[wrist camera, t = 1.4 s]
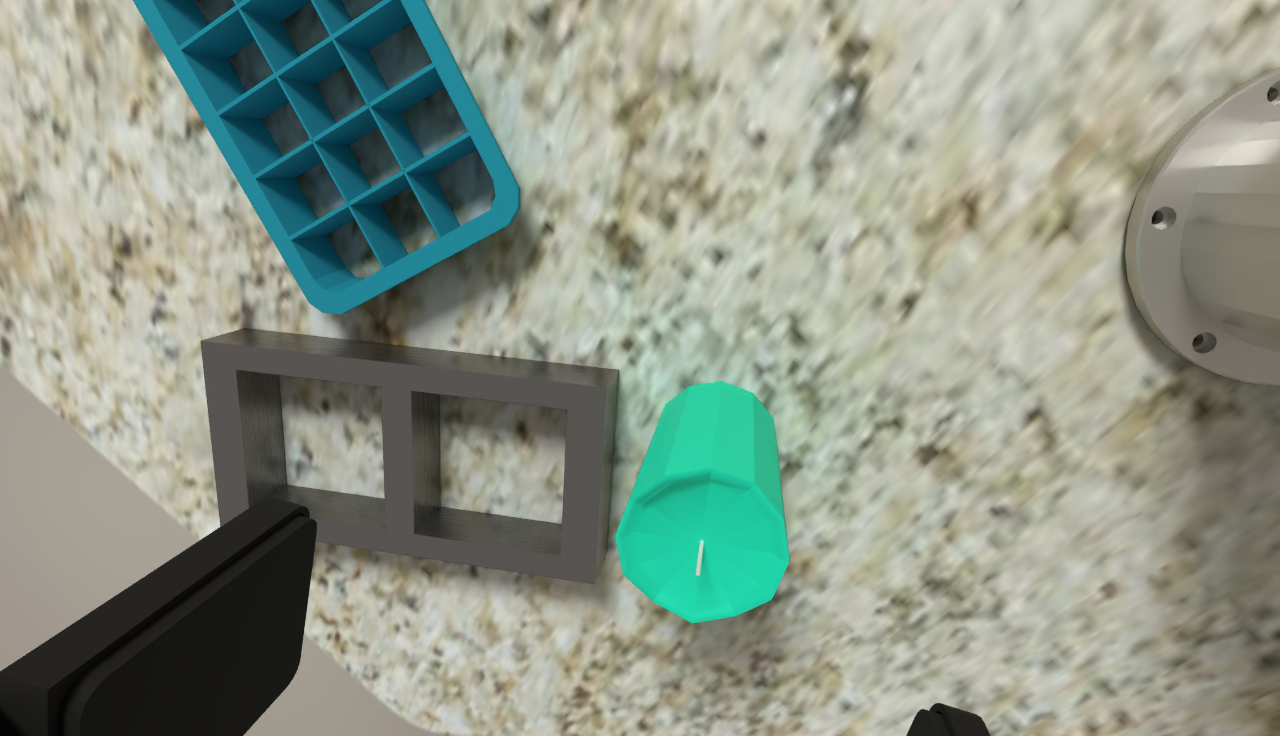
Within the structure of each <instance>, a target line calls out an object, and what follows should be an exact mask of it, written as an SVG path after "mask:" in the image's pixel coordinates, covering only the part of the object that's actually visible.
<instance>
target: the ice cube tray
mask: <svg viewBox="0 0 1280 736" xmlns="http://www.w3.org/2000/svg"><path fill="white" fill-rule="evenodd" d="M233 1H234V3H235V6H234V7H233V8H231V9H230V10H228V11H227V12H226V13H224V14H223V15H221V16H220V17H219V18H217V19H216V20H214V21H213V22H212V23H210V24H209V25H208V24H207V22H206V20H205V18H204V16H203V15H202V13H201V11H200V9H199V8H198V6H197V4H196V2H195V1H194V0H133V2H134V3H135V5H136V7H137V8H138V10H139V12H140V14H141V15H142V17H143V19H144V20H145V22H146V24H147V26H148V27H149V29H150V31H151V32H152V34H153V36H154V38H155V39H156V41H157V43H158V44H159V46H160V48H161V50H162V51H163V53H164V55H165V56H166V58H167V60H168V62H169V63H170V65H171V67H172V68H173V70H174V72H175V74H176V75H177V77H178V79H179V80H180V82H181V84H182V86H183V87H184V89H185V91H186V92H187V94H188V96H189V98H190V99H191V101H192V103H193V104H194V106H195V108H196V110H197V111H198V113H199V115H200V116H201V118H202V120H203V122H204V123H205V125H206V127H207V128H208V130H209V132H210V134H211V135H212V137H213V139H214V140H215V142H216V144H217V146H218V147H219V149H220V151H221V153H222V154H223V156H224V158H225V159H226V161H227V163H228V165H229V166H230V168H231V170H232V171H233V173H234V175H235V177H236V178H237V180H238V182H239V183H240V185H241V187H242V189H243V190H244V192H245V194H246V195H247V197H248V199H249V201H250V202H251V204H252V206H253V207H254V209H255V211H256V213H257V214H258V216H259V218H260V219H261V221H262V223H263V225H264V226H265V228H266V230H267V231H268V233H269V235H270V237H271V238H272V240H273V242H274V243H275V245H276V247H277V249H278V250H279V252H280V254H281V255H282V257H283V259H284V261H285V262H286V264H287V266H288V267H289V269H290V271H291V273H292V274H293V276H294V278H295V279H296V281H297V283H298V285H299V286H300V288H301V290H302V291H303V293H304V295H305V297H306V298H307V300H308V302H309V303H310V304H311V305H313V306H314V307H316V308H317V309H319V310H320V311H321V312H323V313H331V314H340V315H341V314H344V313H346V312H348V311H350V310H352V309H353V308H355V307H357V306H359V305H361V304H363V303H365V302H367V301H368V300H370V299H372V298H374V297H376V296H378V295H380V294H381V293H383V292H385V291H387V290H389V289H391V288H393V287H395V286H396V285H398V284H400V283H402V282H404V281H406V280H408V279H410V278H411V277H413V276H415V275H417V274H419V273H421V272H423V271H424V270H426V269H428V268H430V267H432V266H434V265H436V264H438V263H439V262H441V261H443V260H445V259H447V258H449V257H451V256H453V255H454V254H456V253H458V252H460V251H462V250H464V249H466V248H467V247H469V246H471V245H473V244H475V243H477V242H479V241H481V240H482V239H484V238H486V237H488V236H490V235H492V234H494V233H495V232H497V231H499V230H501V229H503V228H505V227H507V226H509V225H510V224H511V223H512V221H513V219H514V217H515V216H516V214H517V212H518V210H519V209H520V187H519V185H518V183H517V181H516V179H515V177H514V175H513V173H512V171H511V169H510V167H509V165H508V163H507V161H506V159H505V157H504V155H503V153H502V151H501V149H500V147H499V145H498V143H497V142H496V140H495V138H494V136H493V134H492V132H491V130H490V128H489V126H488V124H487V122H486V120H485V118H484V116H483V114H482V112H481V110H480V108H479V106H478V104H477V102H476V100H475V98H474V96H473V94H472V92H471V90H470V88H469V86H468V85H467V83H466V81H465V79H464V77H463V75H462V73H461V71H460V69H459V67H458V65H457V63H456V61H455V59H454V57H453V55H452V53H451V51H450V49H449V47H448V45H447V43H446V41H445V39H444V37H443V35H442V33H441V31H440V29H439V27H438V26H437V24H436V22H435V20H434V18H433V16H432V14H431V12H430V10H429V8H428V6H427V4H426V2H425V0H383V1H381V2H380V3H378V4H377V5H375V6H374V7H372V8H371V9H369V10H368V11H366V12H365V13H363V14H362V15H360V16H359V17H357V18H356V19H354V20H353V21H352V20H351V18H350V16H349V14H348V12H347V10H346V8H345V7H344V5H343V3H342V1H341V0H233ZM310 2H312V4H313V6H314V7H315V9H316V11H317V13H318V15H319V17H320V19H321V20H322V22H323V24H324V26H325V28H326V30H327V32H328V33H329V35H330V36H329V37H328V38H326V39H325V40H323V41H322V42H320V43H319V44H317V45H316V46H314V47H313V48H311V49H310V50H308V51H307V52H305V53H304V54H302V55H301V56H299V54H298V52H297V50H296V49H295V47H294V45H293V43H292V41H291V39H290V38H289V36H288V34H287V32H286V30H285V29H284V27H283V25H282V23H281V22H282V21H284V20H285V19H287V18H288V17H290V16H291V15H293V14H294V13H295V12H297V11H298V10H300V9H301V8H303V7H304V6H306V5H307V4H308V3H310ZM411 22H412V24H413V26H414V28H415V29H416V31H417V33H418V35H419V37H420V39H421V41H422V43H423V45H424V47H425V49H426V51H427V53H428V55H429V57H430V59H431V61H432V62H433V63H432V64H430V65H428V66H427V67H425V68H424V69H422V70H420V71H419V72H417V73H416V74H414V75H412V76H411V77H409V78H408V79H406V80H405V81H403V82H401V83H400V84H398V85H397V86H395V87H393V88H392V89H390V90H388V88H387V86H386V84H385V82H384V80H383V78H382V76H381V75H380V73H379V71H378V69H377V67H376V65H375V63H374V61H373V59H372V58H371V56H370V54H369V52H368V50H370V49H371V48H373V47H374V46H376V45H377V44H379V43H380V42H382V41H383V40H385V39H387V38H388V37H390V36H391V35H393V34H394V33H396V32H397V31H399V30H400V29H402V28H403V27H405V26H406V25H408V24H410V23H411ZM254 41H256V43H257V44H258V46H259V48H260V50H261V52H262V53H263V55H264V57H265V59H266V60H267V62H268V64H269V66H270V68H271V69H272V71H273V73H274V74H272V75H271V76H269V77H268V78H266V79H265V80H263V81H262V82H260V83H259V84H257V85H256V86H254V87H253V88H251V89H250V90H248V91H247V92H246V91H245V89H244V87H243V85H242V84H241V82H240V80H239V78H238V76H237V75H236V73H235V71H234V69H233V68H232V66H231V64H230V62H229V61H228V59H229V58H230V57H232V56H233V55H235V54H236V53H238V52H239V51H241V50H242V49H243V48H245V47H246V46H248V45H249V44H251V43H252V42H254ZM345 65H346V67H347V69H348V71H349V73H350V74H351V76H352V78H353V80H354V82H355V84H356V86H357V87H358V89H359V91H360V93H361V95H362V97H363V99H364V100H365V102H366V105H365V106H363V107H361V108H360V109H358V110H357V111H355V112H353V113H352V114H350V115H349V116H347V117H345V118H344V119H342V120H341V121H339V122H337V123H336V122H335V120H334V118H333V116H332V114H331V112H330V111H329V109H328V107H327V105H326V103H325V102H324V100H323V98H322V96H321V94H320V92H319V91H318V89H317V87H316V84H317V83H319V82H321V81H322V80H324V79H325V78H327V77H328V76H330V75H331V74H333V73H334V72H336V71H337V70H339V69H340V68H342V67H344V66H345ZM443 87H445V88H446V90H447V92H448V94H449V96H450V97H451V99H452V101H453V103H454V105H455V107H456V109H457V111H458V113H459V115H460V117H461V119H462V121H463V123H464V125H465V127H466V129H467V130H468V132H466V133H465V134H463V135H461V136H460V137H458V138H456V139H454V140H453V141H451V142H449V143H448V144H446V145H444V146H442V147H441V148H439V149H437V150H436V151H434V152H432V153H431V154H429V155H427V156H425V157H424V156H423V154H422V152H421V150H420V148H419V146H418V144H417V143H416V141H415V139H414V137H413V135H412V133H411V131H410V129H409V127H408V126H407V124H406V122H405V120H404V118H403V116H402V114H401V113H402V112H404V111H405V110H407V109H409V108H410V107H412V106H414V105H415V104H417V103H418V102H420V101H422V100H423V99H425V98H427V97H428V96H430V95H432V94H433V93H435V92H436V91H438V90H440V89H441V88H443ZM288 102H290V104H291V105H292V107H293V109H294V111H295V113H296V114H297V116H298V118H299V120H300V121H301V123H302V125H303V127H304V129H305V130H306V132H307V134H308V136H309V138H310V140H309V141H307V142H306V143H304V144H302V145H301V146H299V147H298V148H296V149H294V150H293V151H291V152H290V153H288V154H286V155H285V156H282V154H281V152H280V151H279V149H278V147H277V145H276V144H275V142H274V140H273V138H272V136H271V135H270V133H269V131H268V129H267V128H266V126H265V124H264V122H263V121H262V119H264V118H265V117H267V116H268V115H270V114H271V113H273V112H274V111H276V110H278V109H279V108H281V107H282V106H284V105H285V104H287V103H288ZM378 127H379V128H380V130H381V132H382V134H383V136H384V138H385V139H386V141H387V143H388V145H389V147H390V149H391V151H392V152H393V154H394V156H395V158H396V160H397V162H398V164H399V166H400V167H401V169H402V171H400V172H398V173H396V174H395V175H393V176H391V177H390V178H388V179H386V180H384V181H383V182H381V183H379V184H378V185H376V186H374V187H373V188H372V187H371V185H370V184H369V182H368V180H367V178H366V176H365V175H364V173H363V171H362V169H361V167H360V165H359V164H358V162H357V160H356V158H355V156H354V154H353V153H352V151H351V149H350V147H349V145H350V144H352V143H353V142H355V141H356V140H358V139H360V138H361V137H363V136H365V135H366V134H368V133H370V132H371V131H373V130H374V129H376V128H378ZM475 149H477V150H478V152H479V154H480V156H481V158H482V160H483V162H484V163H485V165H486V167H487V169H488V171H489V173H490V175H491V177H492V179H493V183H494V190H495V199H494V201H493V204H492V207H491V209H490V211H488V212H486V213H484V214H482V215H480V216H479V217H477V218H475V219H473V220H471V221H469V222H468V223H466V224H464V225H462V226H460V224H459V222H458V220H457V218H456V216H455V214H454V212H453V210H452V209H451V207H450V205H449V203H448V201H447V199H446V197H445V195H444V193H443V192H442V190H441V188H440V186H439V184H438V182H437V180H436V178H435V176H434V175H433V174H434V173H435V172H437V171H439V170H441V169H442V168H444V167H446V166H447V165H449V164H451V163H453V162H454V161H456V160H458V159H460V158H461V157H463V156H465V155H467V154H468V153H470V152H472V151H473V150H475ZM322 161H323V163H324V165H325V166H326V168H327V170H328V172H329V174H330V175H331V177H332V179H333V181H334V182H335V184H336V186H337V188H338V190H339V191H340V193H341V195H342V197H343V199H344V200H345V202H346V203H345V204H344V205H342V206H340V207H338V208H337V209H335V210H333V211H332V212H330V213H328V214H326V215H325V216H323V217H321V218H320V219H318V218H317V216H316V214H315V212H314V211H313V209H312V207H311V205H310V203H309V202H308V200H307V198H306V196H305V195H304V193H303V191H302V189H301V188H300V186H299V184H298V182H297V181H296V179H295V178H296V177H298V176H299V175H301V174H303V173H304V172H306V171H308V170H309V169H311V168H312V167H314V166H316V165H317V164H319V163H321V162H322ZM409 187H411V188H412V190H413V192H414V193H415V195H416V197H417V199H418V201H419V203H420V205H421V206H422V208H423V210H424V212H425V214H426V216H427V218H428V219H429V221H430V223H431V225H432V227H433V229H434V231H435V232H436V234H437V236H438V239H436V240H435V241H433V242H431V243H429V244H427V245H425V246H424V247H422V248H420V249H418V250H416V251H414V252H413V253H411V254H409V255H408V253H407V251H406V249H405V248H404V246H403V244H402V242H401V240H400V238H399V237H398V235H397V233H396V231H395V229H394V227H393V226H392V224H391V222H390V220H389V218H388V216H387V215H386V213H385V211H384V209H383V207H382V206H381V204H382V203H383V202H385V201H387V200H389V199H390V198H392V197H394V196H395V195H397V194H399V193H401V192H402V191H404V190H406V189H408V188H409ZM354 219H355V220H356V222H357V224H358V226H359V227H360V229H361V231H362V233H363V235H364V236H365V238H366V240H367V242H368V243H369V245H370V247H371V249H372V251H373V252H374V254H375V256H376V258H377V260H378V261H379V263H380V265H381V267H382V269H381V270H380V271H378V272H376V273H374V274H372V275H370V276H369V277H367V278H365V279H362V278H358V277H355V276H354V275H353V274H352V273H351V272H350V271H349V270H348V269H347V268H346V267H345V265H344V263H343V262H342V260H341V258H340V256H339V255H338V253H337V251H336V249H335V248H334V246H333V244H332V242H331V241H330V239H329V237H328V234H330V233H331V232H333V231H335V230H336V229H338V228H340V227H342V226H343V225H345V224H347V223H349V222H350V221H352V220H354Z"/></svg>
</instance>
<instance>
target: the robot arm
mask: <svg viewBox="0 0 1280 736" xmlns="http://www.w3.org/2000/svg"><path fill="white" fill-rule="evenodd" d="M1268 91H1269V98H1268V99H1267V92H1268ZM1154 212H1156V214H1157V219H1156V220H1155V221H1154V222H1153V223H1152V216H1153V214H1154ZM1125 258H1126V268H1127V277H1128V283H1129V286H1130V289H1131V291H1132V294H1133V297H1134V300H1135V303H1136V306H1137V308H1138V310H1139V311H1140V313H1141V314H1142V316H1143V318H1144V319H1145V321H1146V322H1147V324H1148V326H1149V327H1150V329H1151V330H1152V331H1153V332H1154V333H1155V334H1156V335H1157V336H1158V337H1159V338H1160V339H1161V340H1162V341H1163V342H1164V343H1165V344H1166V345H1167V346H1168V347H1169V348H1170V349H1171V350H1173V351H1174V352H1176V353H1177V354H1179V355H1180V356H1182V357H1184V358H1185V359H1187V360H1188V361H1190V362H1191V363H1193V364H1195V365H1197V366H1200V367H1202V368H1205V369H1207V370H1209V371H1211V372H1214V373H1216V374H1218V375H1221V376H1225V377H1228V378H1232V379H1235V380H1239V381H1242V382H1246V383H1249V384H1259V385H1269V386H1279V387H1280V68H1278V69H1275V70H1271V71H1268V72H1265V73H1263V74H1261V75H1259V76H1257V77H1255V78H1253V79H1251V80H1249V81H1247V82H1245V83H1243V84H1241V85H1239V86H1237V87H1235V88H1233V89H1231V90H1229V91H1228V92H1227V93H1225V94H1224V95H1222V96H1221V97H1219V98H1218V99H1217V100H1215V101H1214V102H1212V103H1211V104H1209V105H1208V106H1206V107H1205V108H1204V109H1202V110H1201V111H1200V112H1199V113H1198V114H1197V115H1195V116H1194V117H1193V118H1192V119H1191V120H1190V121H1189V122H1188V123H1187V124H1186V125H1185V126H1184V127H1183V128H1182V129H1181V130H1180V131H1179V132H1178V133H1177V134H1176V135H1174V137H1173V138H1172V139H1171V141H1170V142H1169V143H1168V145H1167V146H1166V147H1165V148H1164V150H1163V151H1162V152H1161V154H1160V155H1159V156H1158V158H1157V159H1156V160H1155V162H1154V163H1153V165H1152V166H1151V168H1150V170H1149V172H1148V174H1147V176H1146V178H1145V180H1144V182H1143V184H1142V185H1141V187H1140V189H1139V191H1138V193H1137V196H1136V199H1135V203H1134V206H1133V209H1132V212H1131V215H1130V219H1129V222H1128V229H1127V238H1126V247H1125ZM1195 337H1196V340H1195V341H1194V342H1193V340H1194V339H1195ZM1192 342H1193V343H1192ZM316 534H317V522H316V521H315V520H314V519H311V518H310V513H309V509H308V508H307V507H305V506H302V505H299V504H296V503H293V502H290V501H286V500H283V499H280V498H277V497H273V496H269V497H266V498H264V499H262V500H261V501H259V502H258V503H256V504H255V505H253V506H252V507H250V508H249V509H247V510H246V511H244V512H243V513H241V514H239V515H238V516H236V517H235V518H233V519H232V520H230V521H229V522H227V523H226V524H224V525H223V526H221V527H220V528H218V529H217V530H215V531H214V532H212V533H211V534H209V535H207V536H206V537H204V538H203V539H201V540H200V541H198V542H197V543H195V544H194V545H192V546H191V547H190V548H188V549H186V550H185V551H183V552H182V553H180V554H179V555H177V556H176V557H174V558H172V559H171V560H169V561H168V562H166V563H165V564H164V565H162V566H160V567H159V568H157V569H156V570H154V571H153V572H151V573H150V574H148V575H147V576H145V577H144V578H142V579H141V580H139V581H138V582H136V583H134V584H133V585H132V586H130V587H128V588H127V589H125V590H124V591H122V592H121V593H119V594H118V595H116V596H115V597H113V598H112V599H110V600H108V601H107V602H105V603H104V604H103V605H101V606H99V607H98V608H96V609H95V610H93V611H92V612H90V613H89V614H88V615H86V616H84V617H83V618H81V619H80V620H78V621H77V622H75V623H73V624H72V625H70V626H69V627H67V628H66V629H64V630H63V631H61V632H60V633H58V634H57V635H55V636H54V637H52V638H51V639H49V640H48V641H46V642H45V643H43V644H41V645H40V646H38V647H37V648H35V649H34V650H32V651H31V652H29V653H28V654H26V655H25V656H23V657H22V658H20V659H19V660H17V661H16V662H14V663H13V664H11V665H9V666H8V667H6V668H5V669H3V670H2V671H0V736H243V735H244V734H245V733H246V732H247V731H248V730H249V729H250V727H251V726H252V725H253V724H254V723H255V722H256V721H257V719H259V717H260V716H261V715H262V714H263V713H264V712H265V711H266V710H267V708H269V706H270V705H271V704H272V703H273V702H274V701H275V700H276V699H277V697H278V696H279V695H280V694H281V693H282V692H283V691H284V690H285V689H286V688H287V686H288V685H289V684H290V682H291V680H292V679H293V677H294V676H295V674H296V671H297V669H298V666H299V663H300V658H301V650H302V642H303V635H304V627H305V619H306V612H307V604H308V596H309V589H310V581H311V573H312V565H313V558H314V550H315V542H316ZM907 736H990V734H989V732H988V730H987V727H986V725H985V723H984V722H983V720H982V718H981V717H979V716H978V715H976V714H973V713H970V712H967V711H964V710H960V709H957V708H954V707H951V706H947V705H944V704H941V703H936V704H934V705H933V706H932V707H931V708H930V710H929V711H928V710H925V709H921V710H920V711H919V712H918V713H917V714H916V716H915V718H914V720H913V723H912V725H911V727H910V729H909V731H908V733H907Z"/></svg>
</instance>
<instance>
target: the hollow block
mask: <svg viewBox="0 0 1280 736" xmlns="http://www.w3.org/2000/svg"><path fill="white" fill-rule="evenodd" d="M201 349H202V359H203V368H204V377H205V387H206V396H207V405H208V415H209V424H210V433H211V443H212V452H213V461H214V471H215V480H216V489H217V499H218V508H219V517H220V527H221V526H223V525H224V524H226V523H227V522H229V521H230V520H232V519H233V518H235V517H236V516H238V515H239V514H241V513H243V512H244V511H246V510H247V509H249V508H250V507H252V506H253V505H255V504H256V503H258V502H259V501H261V500H262V499H264V498H266V497H269V496H273V497H277V498H280V499H283V500H286V501H290V502H293V503H296V504H299V505H302V506H305V507H307V508H308V509H309V513H310V518H311V519H314V520H315V521H316V522H317V534H316V541H317V542H323V543H330V544H337V545H343V546H350V547H356V548H363V549H369V550H376V551H382V552H389V553H395V554H402V555H408V556H415V557H421V558H428V559H434V560H441V561H447V562H454V563H460V564H467V565H474V566H480V567H487V568H493V569H500V570H506V571H513V572H519V573H526V574H532V575H539V576H545V577H552V578H558V579H565V580H571V581H578V582H584V583H591V584H595V582H596V579H597V577H598V574H599V572H600V569H601V566H602V564H603V561H604V559H605V556H606V553H607V545H608V529H609V514H610V499H611V484H612V468H613V453H614V438H615V422H616V407H617V392H618V376H619V370H615V369H606V368H597V367H588V366H579V365H570V364H561V363H552V362H543V361H534V360H525V359H516V358H507V357H498V356H489V355H480V354H471V353H462V352H453V351H444V350H435V349H426V348H417V347H408V346H399V345H390V344H381V343H372V342H363V341H354V340H345V339H336V338H328V337H319V336H310V335H301V334H292V333H283V332H274V331H265V330H256V329H247V328H244V329H240V330H237V331H233V332H230V333H226V334H223V335H219V336H216V337H212V338H209V339H205V340H202V341H201ZM279 375H285V376H293V377H301V378H310V379H318V380H326V381H335V382H343V383H351V384H360V385H368V386H376V387H381V401H382V430H383V460H384V490H385V499H381V498H374V497H367V496H360V495H353V494H346V493H339V492H332V491H325V490H318V489H311V488H304V487H297V486H290V485H287V480H286V467H285V454H284V441H283V428H282V414H281V401H280V388H279ZM439 394H443V395H451V396H459V397H468V398H476V399H484V400H493V401H501V402H509V403H518V404H526V405H534V406H543V407H551V408H559V409H567V425H566V447H565V470H564V492H563V515H562V524H557V523H550V522H543V521H536V520H529V519H522V518H515V517H508V516H501V515H494V514H487V513H480V512H473V511H466V510H459V509H452V508H445V507H440V421H439Z"/></svg>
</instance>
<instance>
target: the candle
mask: <svg viewBox="0 0 1280 736" xmlns="http://www.w3.org/2000/svg"><path fill="white" fill-rule="evenodd" d="M615 539H616V543H617V548H618V552H619V557H620V562H621V566H622V571H623V575H624V576H625V577H626V578H627V579H628V580H630V581H631V582H632V583H633V584H634V585H635V586H636V587H637V588H638V589H640V590H641V591H642V592H643V593H644V594H645V595H646V596H647V597H648V598H650V599H651V600H652V601H653V602H655V603H657V604H658V605H660V606H662V607H664V608H666V609H667V610H669V611H671V612H673V613H674V614H676V615H678V616H680V617H682V618H683V619H685V620H687V621H689V622H690V623H698V622H704V621H710V620H716V619H722V618H729V617H735V616H738V615H740V614H742V613H744V612H746V611H749V610H751V609H753V608H755V607H757V606H759V605H762V604H764V603H766V602H768V601H770V600H772V598H773V596H774V594H775V592H776V590H777V587H778V585H779V583H780V581H781V579H782V577H783V575H784V572H785V570H786V568H787V566H788V564H789V562H790V561H789V552H788V542H787V533H786V524H785V515H784V505H783V496H782V487H781V478H780V468H779V459H778V450H777V442H776V435H775V428H774V421H773V417H772V416H771V415H770V413H769V412H768V411H767V410H766V409H765V407H764V406H763V405H762V404H761V402H760V401H759V400H758V399H757V398H756V396H755V395H754V394H753V393H751V392H748V391H746V390H743V389H741V388H738V387H736V386H733V385H731V384H728V383H725V382H723V381H721V382H714V383H706V384H698V385H690V386H689V387H688V388H686V389H685V390H684V391H682V392H681V393H680V394H678V395H677V396H676V397H674V398H673V399H672V400H671V401H669V402H668V403H667V404H666V405H665V407H664V410H663V412H662V415H661V417H660V420H659V423H658V425H657V428H656V430H655V433H654V435H653V438H652V441H651V443H650V446H649V449H648V451H647V454H646V456H645V459H644V462H643V464H642V467H641V470H640V472H639V475H638V477H637V480H636V483H635V485H634V488H633V491H632V493H631V496H630V499H629V501H628V504H627V506H626V509H625V512H624V514H623V517H622V520H621V522H620V525H619V527H618V530H617V533H616V535H615Z"/></svg>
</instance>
